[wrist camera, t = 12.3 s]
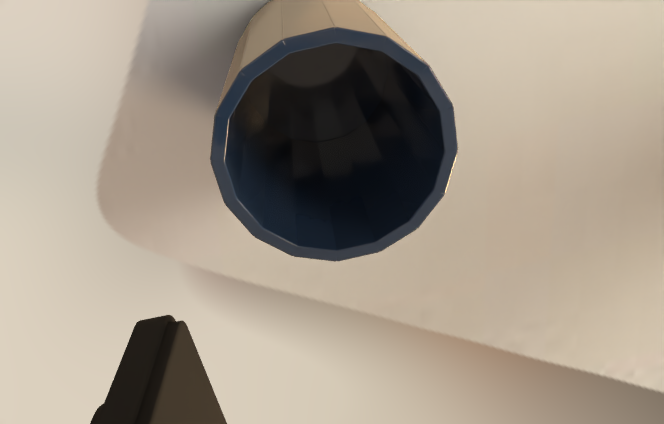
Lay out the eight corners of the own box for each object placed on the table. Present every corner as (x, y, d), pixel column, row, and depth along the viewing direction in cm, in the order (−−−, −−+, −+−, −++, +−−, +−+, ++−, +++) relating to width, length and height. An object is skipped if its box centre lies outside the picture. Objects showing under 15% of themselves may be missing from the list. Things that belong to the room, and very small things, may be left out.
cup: (379, -31, 23) (442, 1, 14) (403, 126, 26) (467, 233, 17) (215, 7, 23) (177, 63, 14) (259, 159, 26) (250, 281, 17)
